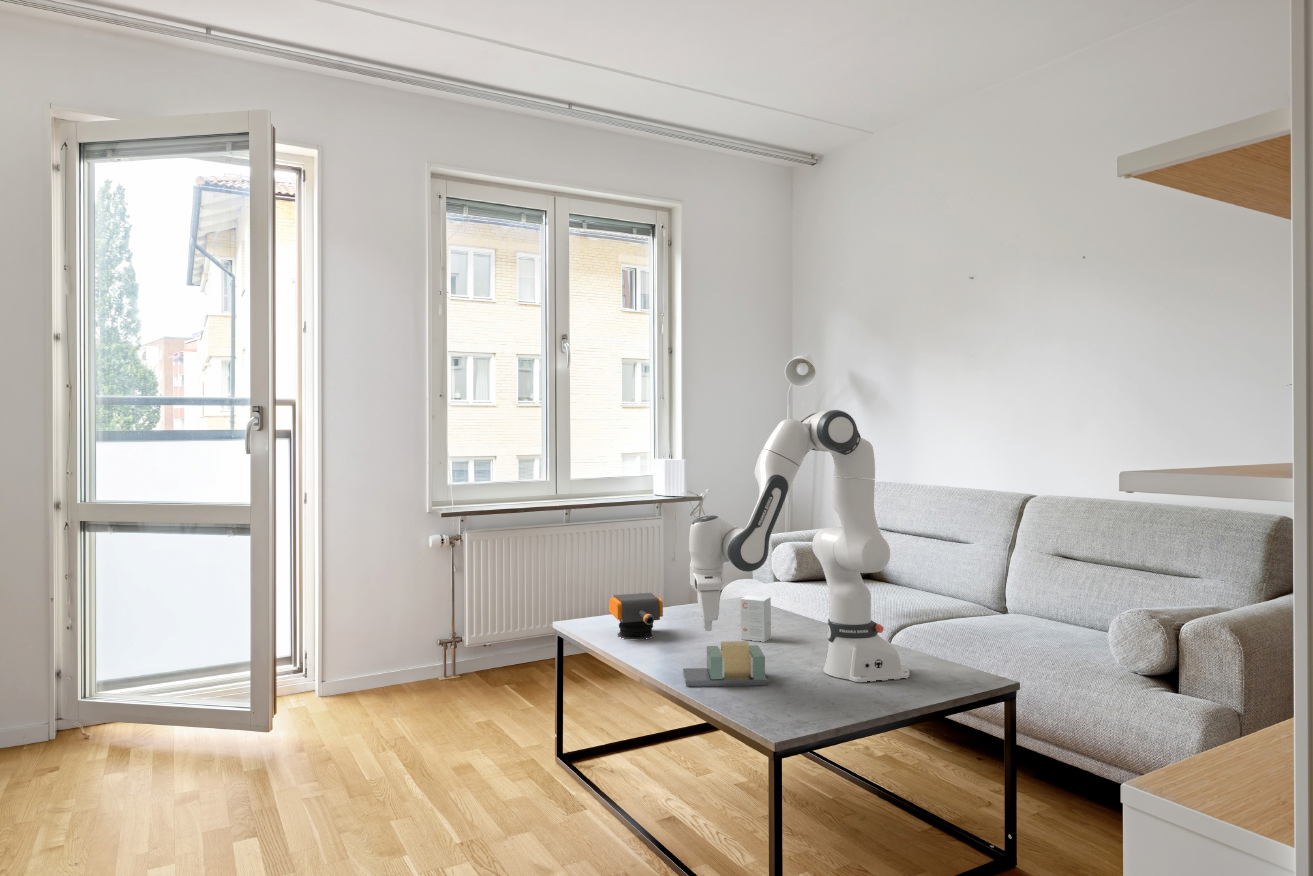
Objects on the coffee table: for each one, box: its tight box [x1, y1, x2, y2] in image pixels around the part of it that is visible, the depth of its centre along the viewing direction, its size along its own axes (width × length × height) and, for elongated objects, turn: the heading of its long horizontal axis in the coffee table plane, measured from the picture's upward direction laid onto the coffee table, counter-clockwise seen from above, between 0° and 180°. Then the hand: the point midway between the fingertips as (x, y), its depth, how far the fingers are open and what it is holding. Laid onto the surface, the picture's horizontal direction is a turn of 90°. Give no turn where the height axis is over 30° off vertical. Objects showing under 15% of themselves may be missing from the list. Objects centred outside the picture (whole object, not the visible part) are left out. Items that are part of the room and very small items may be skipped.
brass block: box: [720, 640, 750, 676], centre depth 220 cm, size 4×7×8 cm, turn 92°
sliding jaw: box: [706, 645, 724, 679], centre depth 220 cm, size 4×11×6 cm, turn 2°
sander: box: [608, 592, 664, 640], centre depth 263 cm, size 15×25×13 cm, turn 16°
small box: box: [740, 594, 772, 643], centre depth 262 cm, size 8×6×13 cm
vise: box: [682, 644, 768, 687], centre depth 220 cm, size 21×11×8 cm, turn 92°
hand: (707, 629), depth 220 cm, fingers closed
